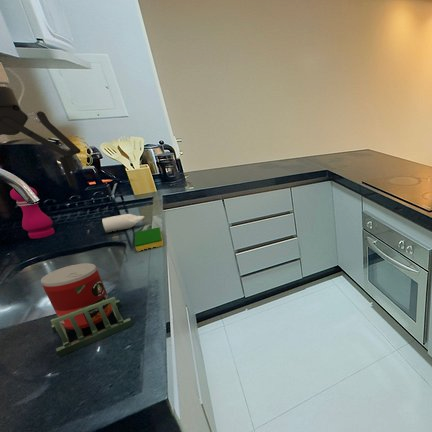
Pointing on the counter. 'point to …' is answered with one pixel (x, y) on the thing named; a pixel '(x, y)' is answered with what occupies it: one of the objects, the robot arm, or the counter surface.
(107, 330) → the drying rack
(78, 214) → the counter surface
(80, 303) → the canned food
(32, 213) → the pepper mill
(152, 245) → the dish sponge
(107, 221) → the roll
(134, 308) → the counter surface
